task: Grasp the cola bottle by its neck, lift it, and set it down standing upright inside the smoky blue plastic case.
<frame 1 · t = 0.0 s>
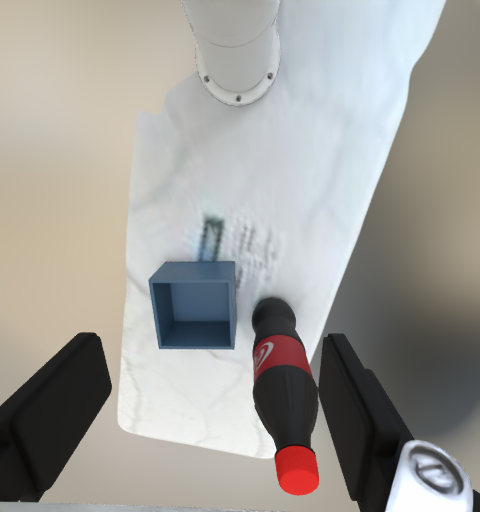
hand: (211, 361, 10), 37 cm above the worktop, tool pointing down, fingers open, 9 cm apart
cola bottle: (272, 311, 51), on the worktop
case: (202, 293, 50), on the worktop
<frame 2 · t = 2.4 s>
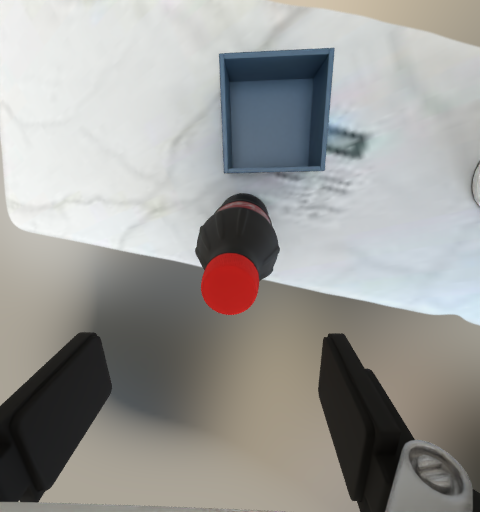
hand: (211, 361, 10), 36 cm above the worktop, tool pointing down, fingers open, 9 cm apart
cola bottle: (243, 216, 45), on the worktop
case: (270, 127, 40), on the worktop
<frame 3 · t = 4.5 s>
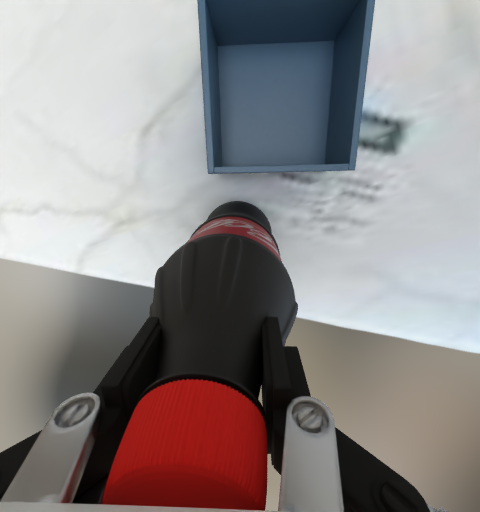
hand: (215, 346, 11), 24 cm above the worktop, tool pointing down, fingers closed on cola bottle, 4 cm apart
cola bottle: (238, 230, 34), on the worktop, touching gripper
case: (273, 110, 29), on the worktop
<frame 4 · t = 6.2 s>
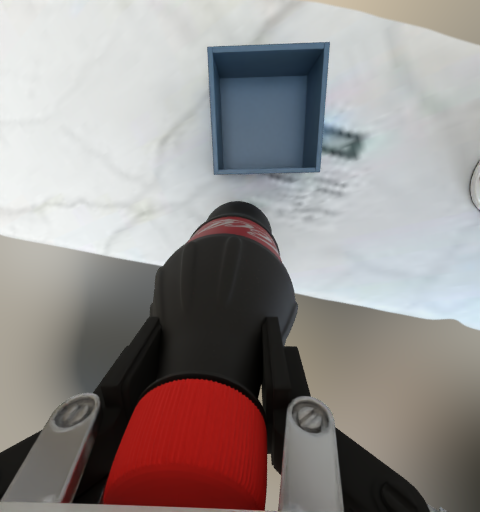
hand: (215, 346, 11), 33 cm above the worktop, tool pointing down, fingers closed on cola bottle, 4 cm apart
cola bottle: (238, 230, 34), point 9 cm above the worktop, touching gripper
case: (262, 126, 38), on the worktop
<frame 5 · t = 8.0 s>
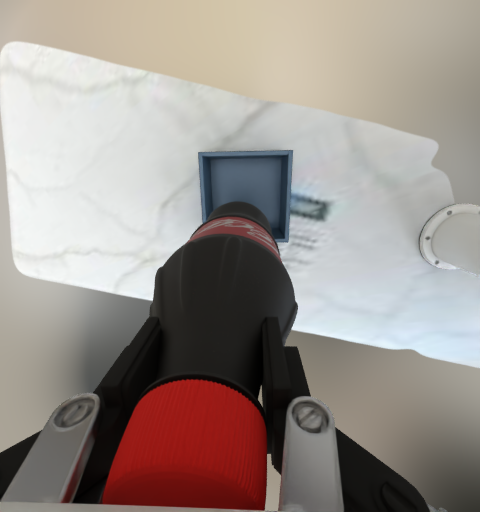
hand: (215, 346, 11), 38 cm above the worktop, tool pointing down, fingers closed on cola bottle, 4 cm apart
cola bottle: (238, 230, 34), point 14 cm above the worktop, touching gripper
case: (246, 194, 46), on the worktop
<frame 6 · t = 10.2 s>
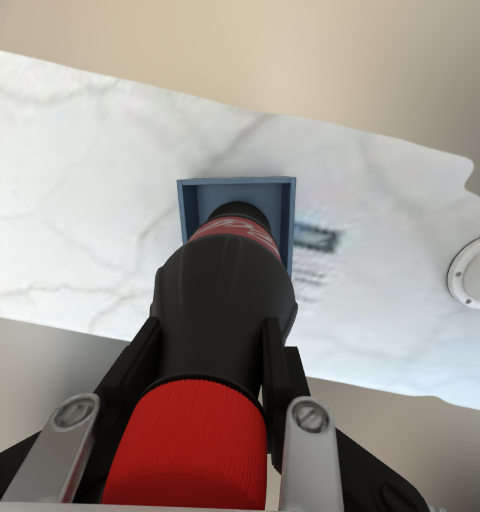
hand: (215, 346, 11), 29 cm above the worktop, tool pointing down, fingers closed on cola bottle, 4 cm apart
cola bottle: (238, 230, 34), point 5 cm above the worktop, touching gripper
case: (239, 223, 38), on the worktop
when the fingers open (24 cm above the worktop, at t = 11.7 s): cola bottle stays where it is, resting on case.
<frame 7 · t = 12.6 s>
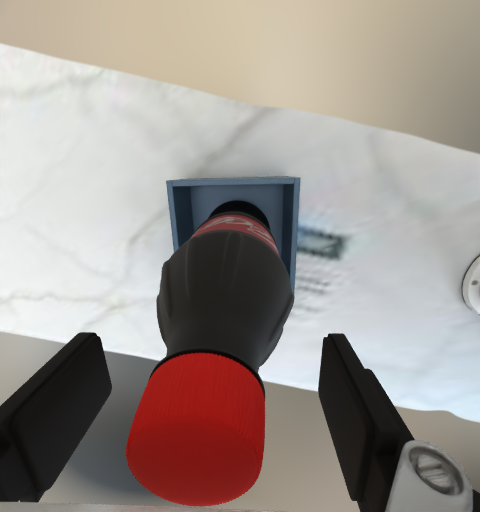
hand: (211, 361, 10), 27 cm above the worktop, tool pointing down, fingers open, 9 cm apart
cola bottle: (238, 228, 35), resting on case
case: (237, 227, 35), on the worktop
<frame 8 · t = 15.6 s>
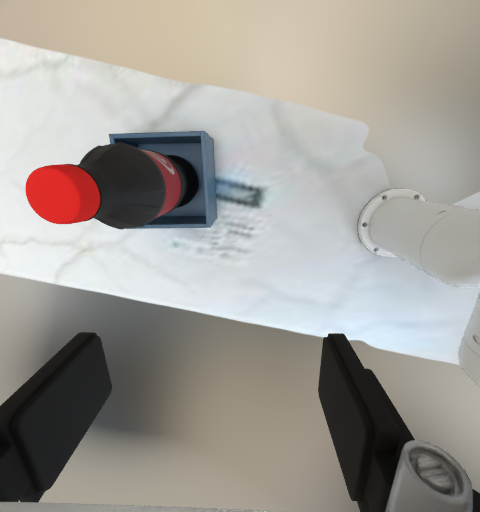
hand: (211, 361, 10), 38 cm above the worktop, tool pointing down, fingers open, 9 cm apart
cola bottle: (178, 181, 45), resting on case
case: (178, 181, 45), on the worktop
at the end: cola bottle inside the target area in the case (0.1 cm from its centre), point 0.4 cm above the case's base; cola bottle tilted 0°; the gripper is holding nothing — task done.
